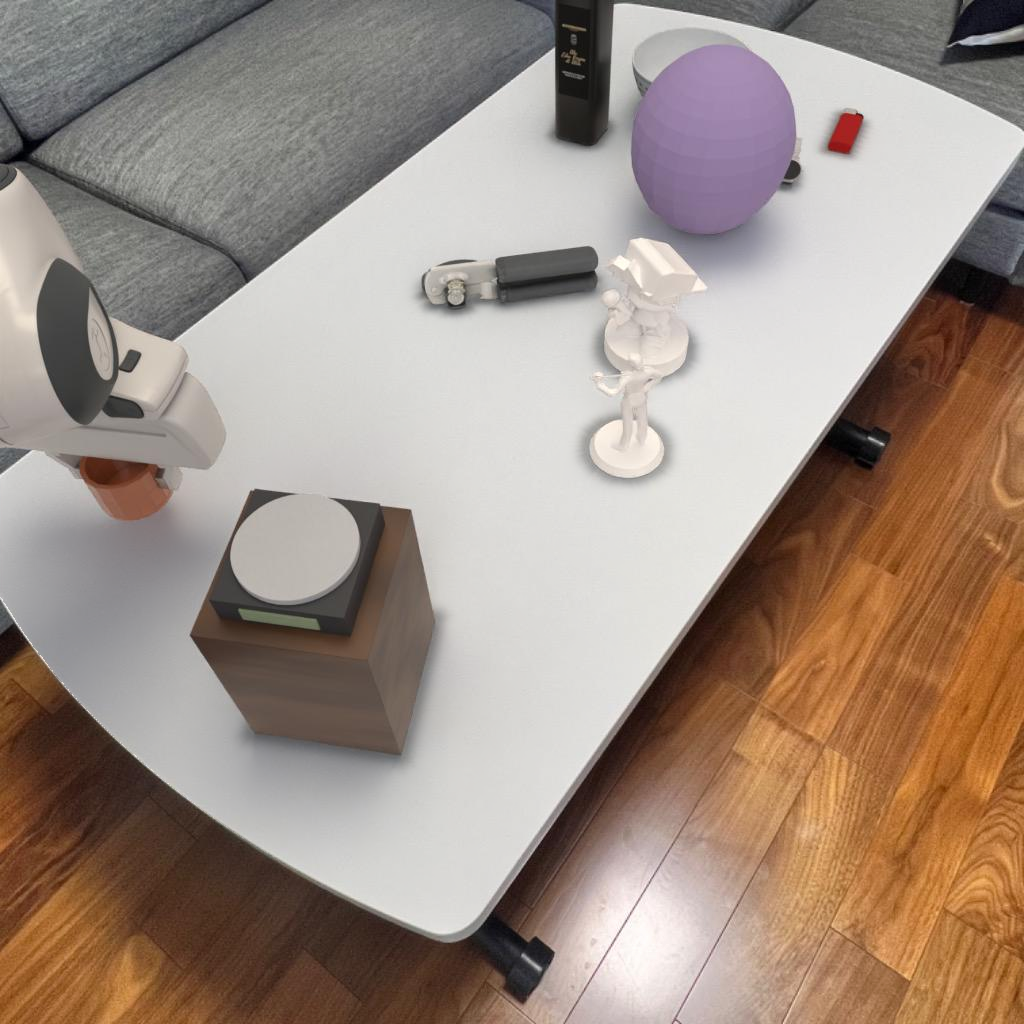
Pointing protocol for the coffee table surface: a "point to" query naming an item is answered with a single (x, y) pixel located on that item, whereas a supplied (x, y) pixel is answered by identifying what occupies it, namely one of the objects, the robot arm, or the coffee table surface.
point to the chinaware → (672, 50)
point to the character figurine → (648, 306)
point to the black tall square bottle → (582, 68)
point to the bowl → (124, 487)
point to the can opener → (512, 276)
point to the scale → (299, 562)
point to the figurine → (628, 425)
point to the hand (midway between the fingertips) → (130, 478)
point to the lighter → (846, 131)
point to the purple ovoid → (713, 139)
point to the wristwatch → (794, 164)
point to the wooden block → (333, 656)
